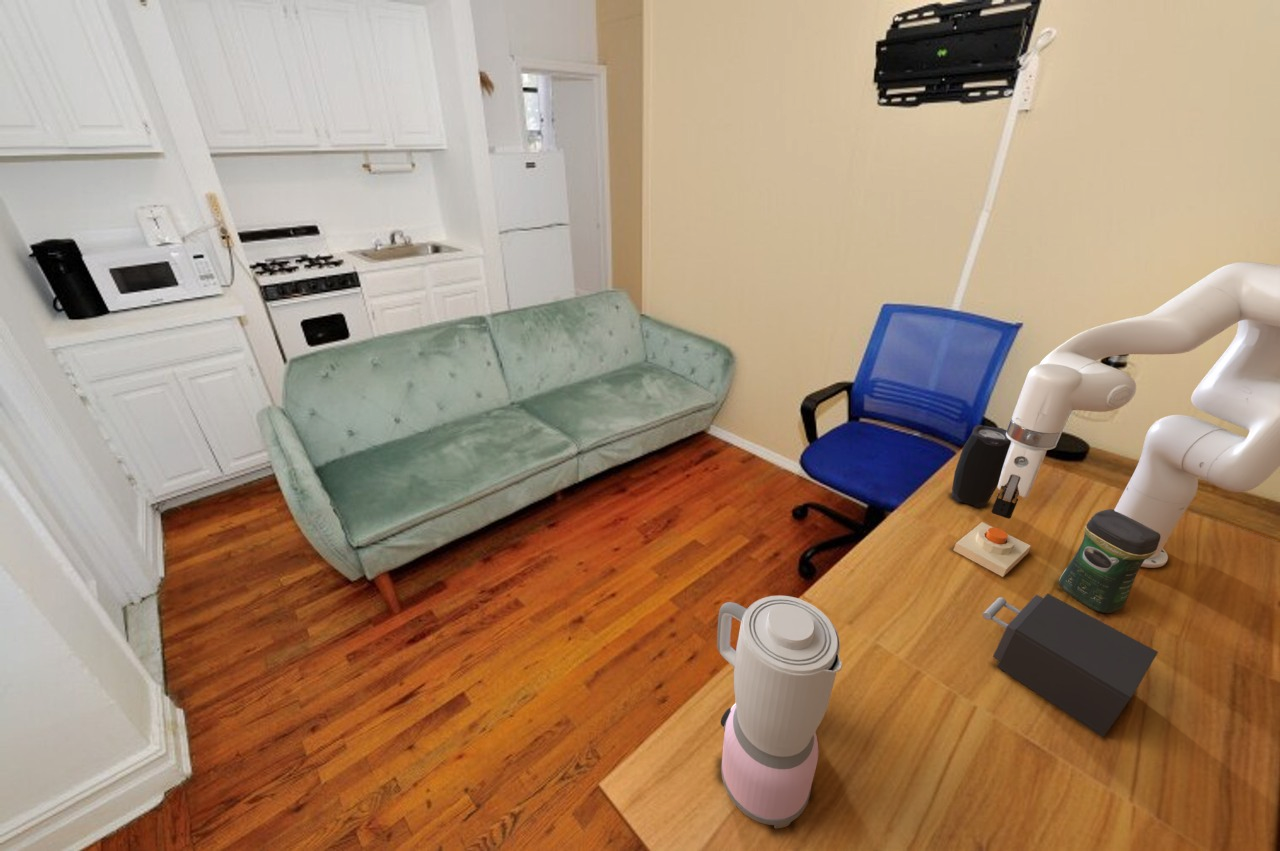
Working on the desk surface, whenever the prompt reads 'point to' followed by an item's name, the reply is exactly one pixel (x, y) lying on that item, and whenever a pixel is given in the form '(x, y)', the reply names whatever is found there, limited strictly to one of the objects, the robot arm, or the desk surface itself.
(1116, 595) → the coffee jar
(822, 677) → the blender
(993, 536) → the button
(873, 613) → the desk surface
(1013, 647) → the box
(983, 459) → the portable speaker
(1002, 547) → the block
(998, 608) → the drawer
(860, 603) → the desk surface
